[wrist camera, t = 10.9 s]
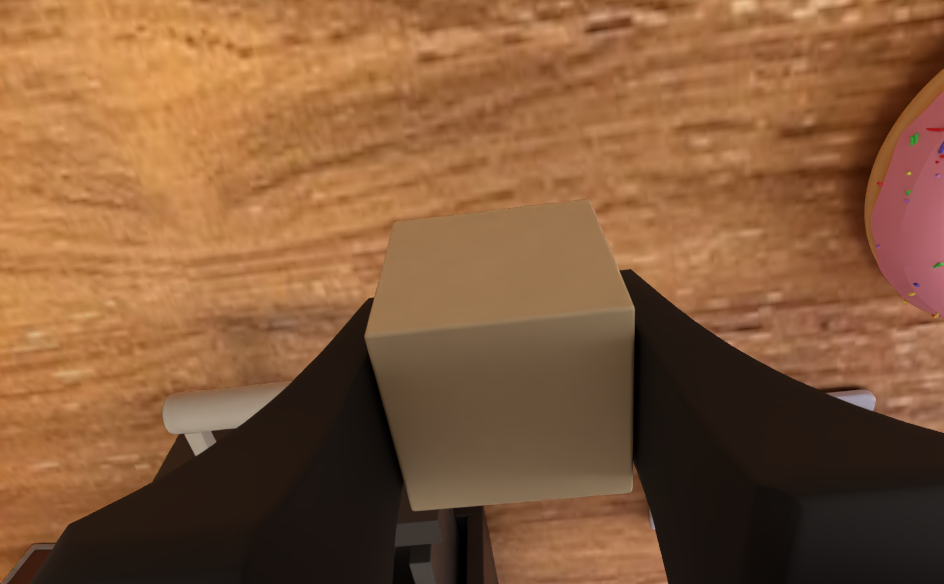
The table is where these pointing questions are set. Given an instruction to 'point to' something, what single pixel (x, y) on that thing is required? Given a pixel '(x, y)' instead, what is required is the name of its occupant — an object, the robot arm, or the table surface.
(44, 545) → the food container
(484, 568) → the dark drawer cabinet
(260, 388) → the dark drawer with handle
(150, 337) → the table surface
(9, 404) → the table surface
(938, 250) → the doughnut
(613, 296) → the block
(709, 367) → the robot arm
